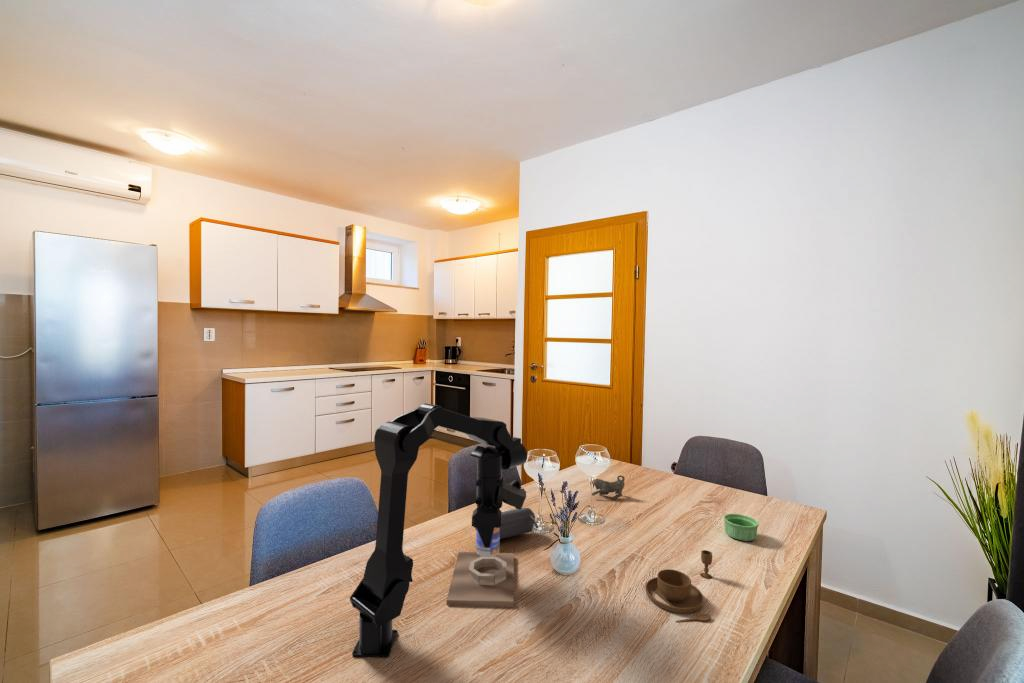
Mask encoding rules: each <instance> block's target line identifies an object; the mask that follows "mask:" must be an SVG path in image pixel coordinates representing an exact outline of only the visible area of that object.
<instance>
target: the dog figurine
mask: <svg viewBox="0 0 1024 683" xmlns="http://www.w3.org/2000/svg"><path fill="white" fill-rule="evenodd" d="M616 478H617V479H616V480H615V481H611V482H610V481H608V480H604V479H600V478H595V479H593V480H594V483H593V485H594V487H595V490H596V491H593V492H592V493H591V496H596V495H598V494H599V495H600V496H605V495H608V494H611V493H614V494H615V495H614V496H612V499H613V500H616V499H618V498H620V497H622V496H623V489H625V488H624V487H625V480H626V479H625V476H623V475H621V474H620V475H618V476H617V477H616ZM620 478H622V479H620Z"/></svg>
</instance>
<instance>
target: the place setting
mask: <svg viewBox="0 0 1024 683" xmlns="http://www.w3.org/2000/svg"><path fill="white" fill-rule="evenodd" d="M700 552H701V553H700V555H701V556H700V559H701V563H702V564H703V565H704V567H703V571H704V572H700V573H699V576H700V577H701V578H703V579H706V580H712V579H713V576H712V574H710V573H709V571H710V570H709V566H710V565H712V563H713V552H711V550H706V549H704V550H703V549H702V550H701V551H700ZM644 587H645V594H646V596H647V597H648V599H649V600H650V601H651V602H652V603H653V604H654V605H656V606H657V607H659V608H660V609H662V610H665V611H668V612H670V613H675V614H691V613H695V612H696V611H698V610H699V609H701V608H702V606H703V604H704V595H703V593H702V591H701V590H700V589H698V588H697V587H696V586H695V585H693V584H692V579H691V578H690V577H689V576H688V575H687V574H686V573H684V572H682V571H679V570H678V569H677V570H676V569H671V568H666V569H662V570H659V571H658V572H657V576H655V577H653V578H652V577H651V578H650V579H649V580H648V581H647V582H645V586H644ZM652 592H653V593H655V595H657V597H659V598H660V599H662V601H664V602H665V603H666V604H665V603H663V602H661V601H660V600H658V599H656V598H655V597H653V596H652V594H651V593H652ZM711 618H712V616H711V614H708V613H699V614H697V615H695V617H690V618H684V619H679V620H675V622H676V623H679V624H680V623H685V622H690V621H700V622H706V621H709V620H710V619H711Z"/></svg>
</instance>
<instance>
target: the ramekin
mask: <svg viewBox="0 0 1024 683" xmlns="http://www.w3.org/2000/svg"><path fill="white" fill-rule="evenodd" d="M723 521H724V532H725V534H727V535H728V536H729V537H731V538H733V539H736V540H739V541H746V542H747V541H748V542H751V541H754V540H755V539H756V538H757V533H758V527H759V525H760V524H759V522H758V520H756V519H755V518H753V517H751V516H748V515H744V514H740V513H726V514H725V515H723Z"/></svg>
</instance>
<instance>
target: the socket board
mask: <svg viewBox="0 0 1024 683" xmlns="http://www.w3.org/2000/svg"><path fill="white" fill-rule="evenodd" d="M514 558H515V553H514V552H499V553H498V554H497V555H496V556H493V557H482V556H480V555H478V554H477V552H473V551H469V552H468V551H459V552H458V553H457V556H456V562H455V564H454V570H453V572H452V573H453V574H452V578H451V581H450V585H449V589H448V592H447V597H446V606H458V607H459V606H462V607H463V606H464V607H465V606H466V607H493V608H494V607H495V608H496V607H498V608H500V607H501V608H514V605H515V603H514V602H515V599H514V598H515V597H514V596H515V595H514V594H515V593H514V592H515V590H514V589H515V585H514V584H515V583H514V582H515V576H514V575H515V567H514V566H515V561H514V560H515V559H514Z"/></svg>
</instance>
